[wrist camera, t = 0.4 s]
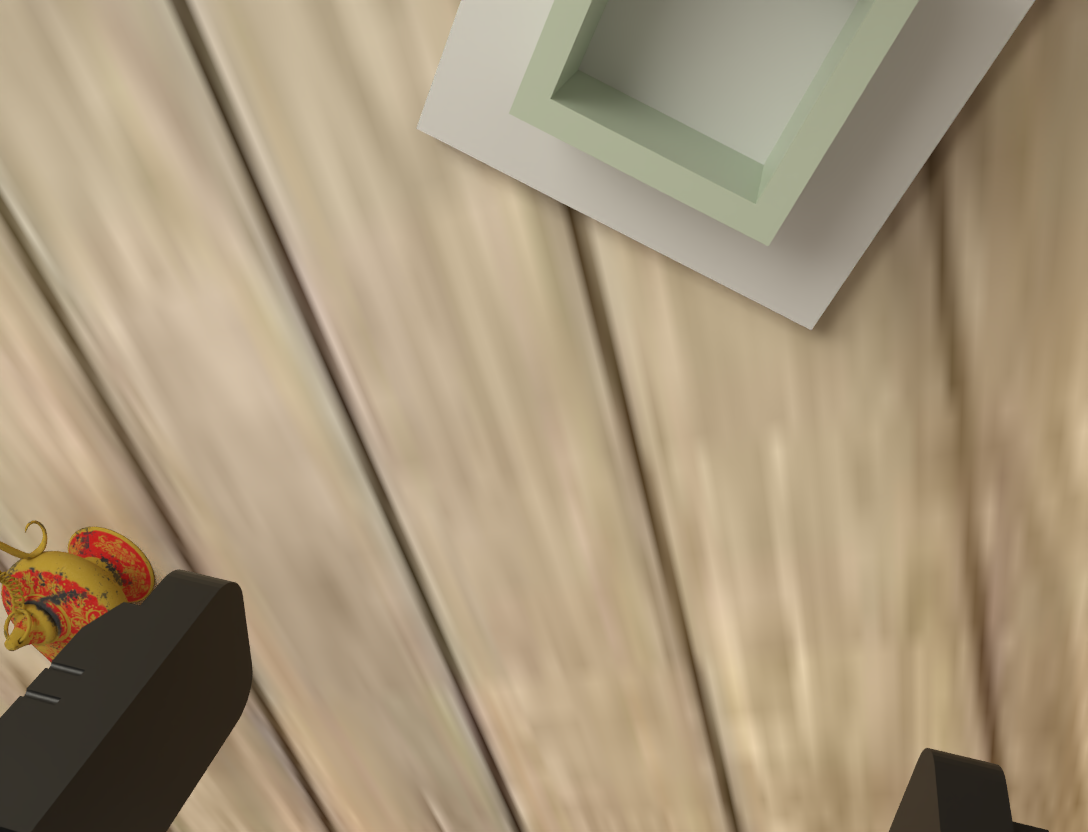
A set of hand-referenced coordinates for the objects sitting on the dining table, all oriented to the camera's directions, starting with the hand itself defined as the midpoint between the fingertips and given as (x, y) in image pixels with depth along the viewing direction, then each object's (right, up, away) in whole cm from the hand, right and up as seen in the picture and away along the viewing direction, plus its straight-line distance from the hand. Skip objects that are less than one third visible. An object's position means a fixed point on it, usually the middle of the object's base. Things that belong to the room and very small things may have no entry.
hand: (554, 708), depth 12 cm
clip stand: (+6, +17, +21) cm, 28 cm away
